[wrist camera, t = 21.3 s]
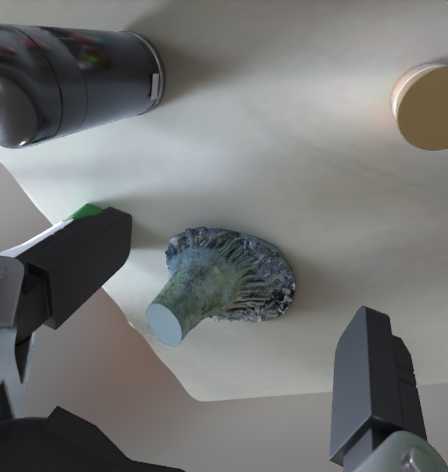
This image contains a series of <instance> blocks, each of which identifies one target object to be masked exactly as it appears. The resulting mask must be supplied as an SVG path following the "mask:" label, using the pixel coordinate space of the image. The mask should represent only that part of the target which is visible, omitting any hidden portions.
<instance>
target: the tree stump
mask: <svg viewBox="0 0 448 472" xmlns="http://www.w3.org/2000/svg"><path fill="white" fill-rule="evenodd" d="M168 245H169V247H168V248H169V249H168V250H167V251H165V254H166V258H167V261H166V266H167V267H168V269H169V281H168V282H167V284H166V285H165V286H164V288H163V289H162V290H161V292H160V293H159V294H158V295H157V296H156V298H155V299H154V300H153V302H152V303H151V304H150V306H149V307H148V309H147V311H146V317H147V322H148V324H149V327H150V329H151V331H152V332H153V334H154V335H155V336H156V338H157V339H158V340H160V341H161V342H162V343H163V344H165V345H167V346H170V347H177V346H178V345H180V343H181V341H182V340H183V339H184V337H185V336H186V335H187V333H188V332H189V331H190V330H191V329H193V328H194V327H195V326H196V325H197V324H198V323H200V321H201V320H203V319H205V318H206V317H210V318H212V317H214V319H215V320H216V322H218V321H219V320H220V319H223V320H228V321H230V322H231V321H233V320H238V321H239V320H244V321H250V322H261V321H264V320H267V319H271V318H274V317H279V316H280V315H281V314H282V313H283V315H285V314H286V312H287V310H288V309H289V307H290V304H291V303H292V301H293V297H294V293H295V279H294V276H293V273H292V270H291V268H290V266H289V265H288V263H287V262H286V260H285V259H284V257H283V256H282V254H281V253H280V251H279V250H278V248H276V247H274V246H273V245H271V244H269V243H267V242H266V241H264V240H262V239H260V238H257V237H254V236H250V235H247V234H243V233H239V232H235V231H230V230H225V229H218V228H211V229H207V228H205V227H199V228H196V229H187V230H186V232H183V233H181V234H179V235H176V236H174V237H172V238H171V239H170V241H169V242H168Z"/></svg>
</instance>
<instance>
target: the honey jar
mask: <svg viewBox="0 0 448 472" xmlns="http://www.w3.org/2000/svg"><path fill="white" fill-rule="evenodd" d="M390 106H391V109H392V112H393V114H394V117H395V119H396V123H397V127H398V129H399V131H400V133H401V135H402V136H403V138H404V139H405V140H406V141H407V142H408V143H410V144H411V145H413V146H415V147H417V148H419V149H423V150H429V151H437V150H444V149H448V65H443V64H434V63H426V64H421V65H418V66H415V67H413V68H411V69H409V70H408V71H406V72H405V73H404V74H403V75H402V76H401V77H400V78H399V79H398V80H397V81H396V83H395V85H394V86H393V89H392V91H391V95H390Z"/></svg>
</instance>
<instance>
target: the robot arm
mask: <svg viewBox="0 0 448 472" xmlns="http://www.w3.org/2000/svg"><path fill="white" fill-rule="evenodd" d="M164 87H165V73H164V68H163V64H162V61H161V59H160V56H159V54H158V53H157V51H156V49H155V48H154V47H153V45H152V44H151V43H150V42H149V41H148V40H147V39H146V38H144V37H143V36H141V35H139V34H137V33H134V32H128V31H118V32H113V31H101V30H87V29H73V28H58V27H44V26H27V25H12V24H0V146H2V147H6V148H11V149H21V148H27V147H31V146H34V145H38V144H41V143H44V142H47V141H50V140H54V139H57V138H60V137H64V136H67V135H70V134H73V133H77V132H80V131H83V130H87V129H90V128H94V127H97V126H100V125H104V124H107V123H110V122H114V121H117V120H121V119H124V118H128V117H131V116H135V115H141V114H144V113H147V112H149V111H151V110H152V109H154V108H155V107H156V106H157V105H158V103H159V102H160V100H161V98H162V95H163V92H164ZM131 231H132V216H131V215H130V214H128V213H126V212H123V211H120V210H118V209H115V208H113V207H108V208H106V209H104V210H103V211H101V212H100V213H98V214H97V215H95V216H93V215H88V216H85V217H81V218H78V219H75V220H73V221H72V222H70V223H69V224H67V225H65V226H64V228H61V229H59V230H57V231H56V232H54V234H53V235H52V234H51V235H49V236H48V237H46V238H45V239H43V240H41V241H40V242H38V243H37V244H35V245H33V246H32V247H30V248H29V249H27V250H25V251H24V252H22V253H21V254H19V255H17V256H16V257H14V258H12V257H8V256H0V472H185V471H183V470H181V469H178V468H172V467H166V466H161V465H155V464H149V463H143V462H138V461H133V460H131V459H129V458H128V457H126V456H125V455H124V454H123V453H122V452H121V451H120V450H119V449H118V448H117V447H116V446H115V445H114V444H113V442H112V441H110V439H109V438H108V437H107V436H105V435H104V433H103V432H101V430H100V429H99V428H98V427H97V426H96V425H93V424H92V423H90V422H88V421H86V420H84V419H82V418H80V417H78V416H76V415H74V414H72V413H70V412H68V411H66V410H64V409H62V408H61V407H59V406H57V407H56V408H55V409H54V411H53V412H52V413H51V415H49V417H48V418H47V417H26V392H27V385H28V379H29V372H30V366H31V360H32V352H33V347H34V340H35V330H36V329H37V328H39V327H40V326H41V325H42V324H44V325H46V326H48V327H50V328H53V329H54V330H56V329H57V328H58V327H59V326H61V325H62V324H63V323H64V322H65V321H66V320H67V319H68V318H69V317H70V316H71V315H72V314H73V313H74V312H75V311H76V310H77V309H78V308H79V307H80V306H81V305H82V304H83V303H85V302H86V301H87V300H88V299H89V298H90V297H91V296H92V295H93V294H94V293H95V292H96V291H97V290H98V289H99V288H100V287H101V286H102V285H103V284H104V283H105V282H106V281H107V280H109V279H110V278H111V277H112V276H113V275H114V274H115V273H116V272H117V271H118V270H119V269H120V268H121V267H122V266H123V265H124V264H125V262H126V260H127V258H128V256H129V253H130V246H131ZM413 372H414V369H413V364H412V359H411V354H410V353H409V351H408V349H407V348H406V346H405V344H404V343H403V341H402V339H401V338H399V337H396V336H394V335H392V331H391V324H390V318H389V316H388V315H386V314H384V313H381V312H379V311H376V310H374V309H371V308H368V307H366V306H361V307H360V308H359V310H358V311H357V313H356V314H355V316H354V317H353V319H352V320H351V322H350V323H349V325H348V326H347V328H346V330H345V331H344V333H343V334H342V336H341V337H340V339H339V342H338V344H337V348H336V352H335V363H334V382H333V401H332V420H331V439H330V458H329V460H330V461H332V462H334V463H336V464H338V465H340V466H342V467H343V472H448V466H447V465H446V463H445V461H444V460H443V459H442V457H441V456H440V454H439V453H438V452H437V451H436V450H435V449H434V448H433V447H432V446H431V445H430V444H429V443H428V441H427V436H426V431H425V426H424V421H423V416H422V410H421V406H420V400H419V395H418V390H417V388H416V379H415V374H413Z"/></svg>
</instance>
